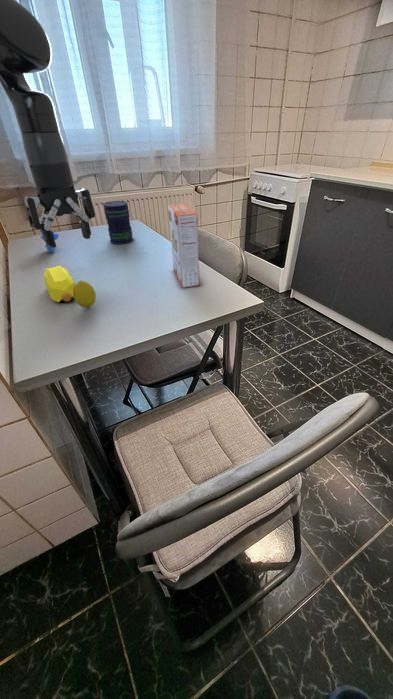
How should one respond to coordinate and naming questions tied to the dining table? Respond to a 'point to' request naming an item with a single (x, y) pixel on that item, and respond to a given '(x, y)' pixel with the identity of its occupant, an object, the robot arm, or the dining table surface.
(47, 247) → the grapes
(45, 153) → the robot arm
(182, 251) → the cracker box
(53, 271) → the yellow faceted capsule
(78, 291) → the lemon
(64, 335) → the dining table surface
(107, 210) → the storage jar
